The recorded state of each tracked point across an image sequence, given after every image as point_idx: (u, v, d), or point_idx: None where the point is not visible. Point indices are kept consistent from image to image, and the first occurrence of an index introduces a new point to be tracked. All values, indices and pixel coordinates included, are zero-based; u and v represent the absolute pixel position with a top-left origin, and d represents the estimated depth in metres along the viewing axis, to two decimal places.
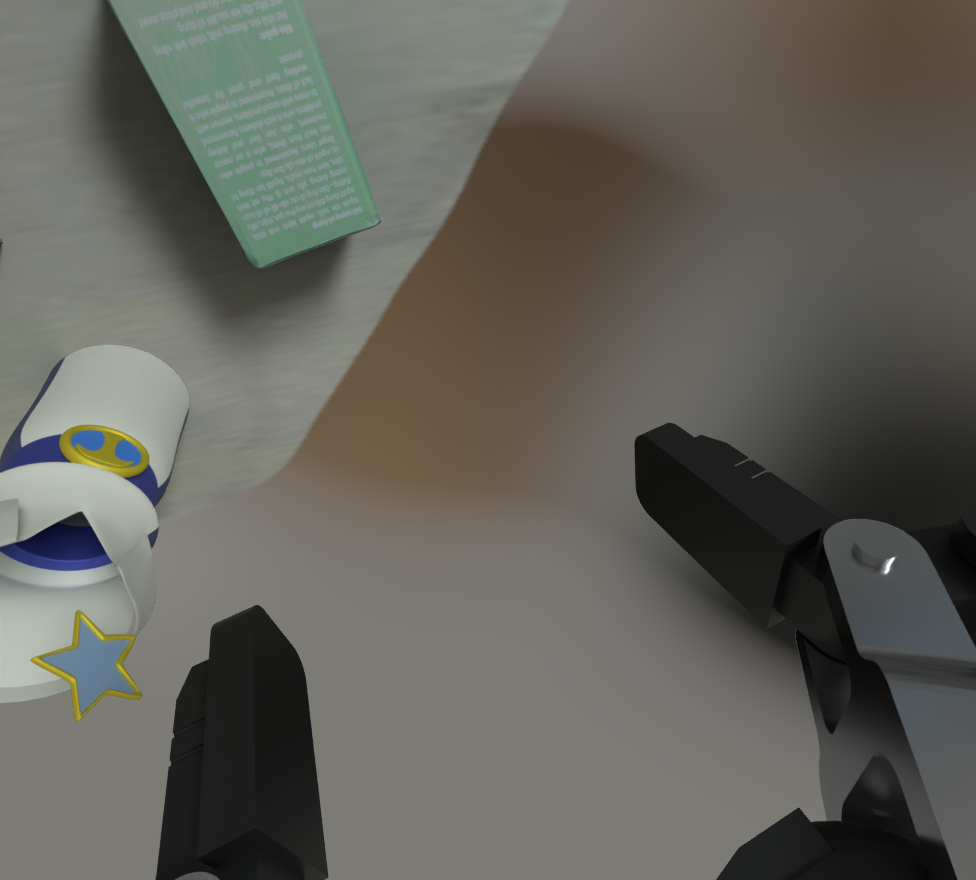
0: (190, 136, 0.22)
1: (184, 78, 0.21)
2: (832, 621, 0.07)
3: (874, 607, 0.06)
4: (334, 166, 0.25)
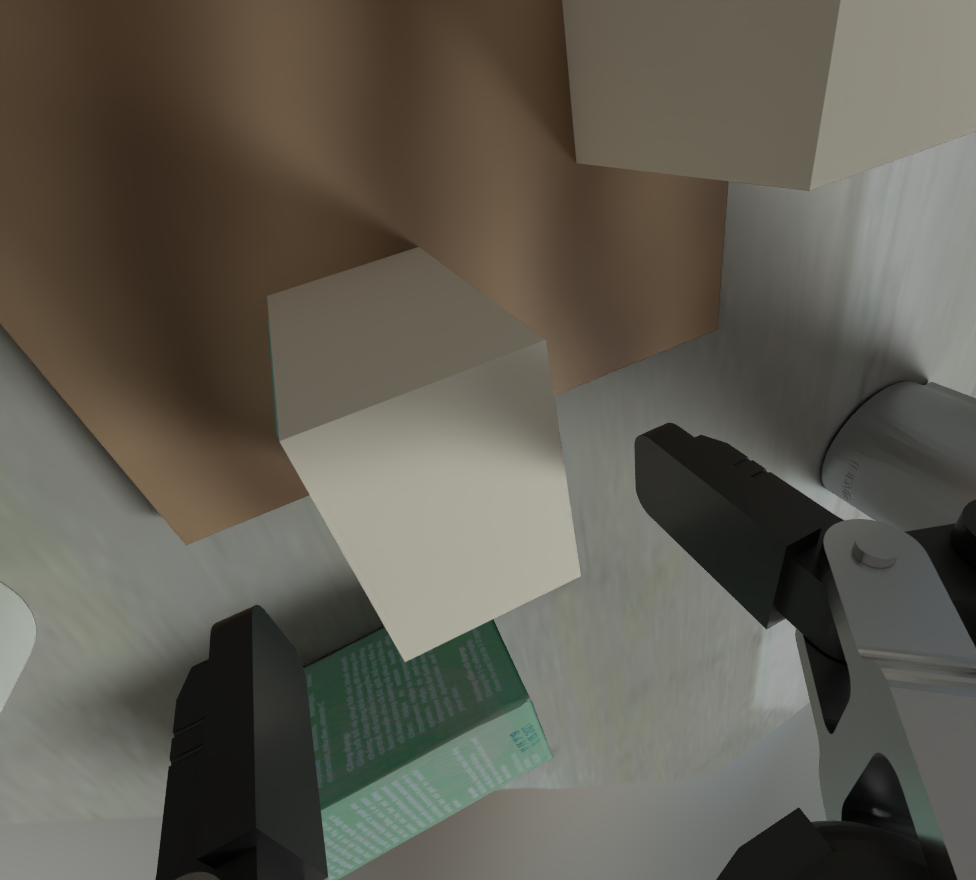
0: (388, 779, 0.21)
1: (436, 765, 0.22)
2: (832, 621, 0.07)
3: (874, 607, 0.06)
4: (372, 851, 0.24)
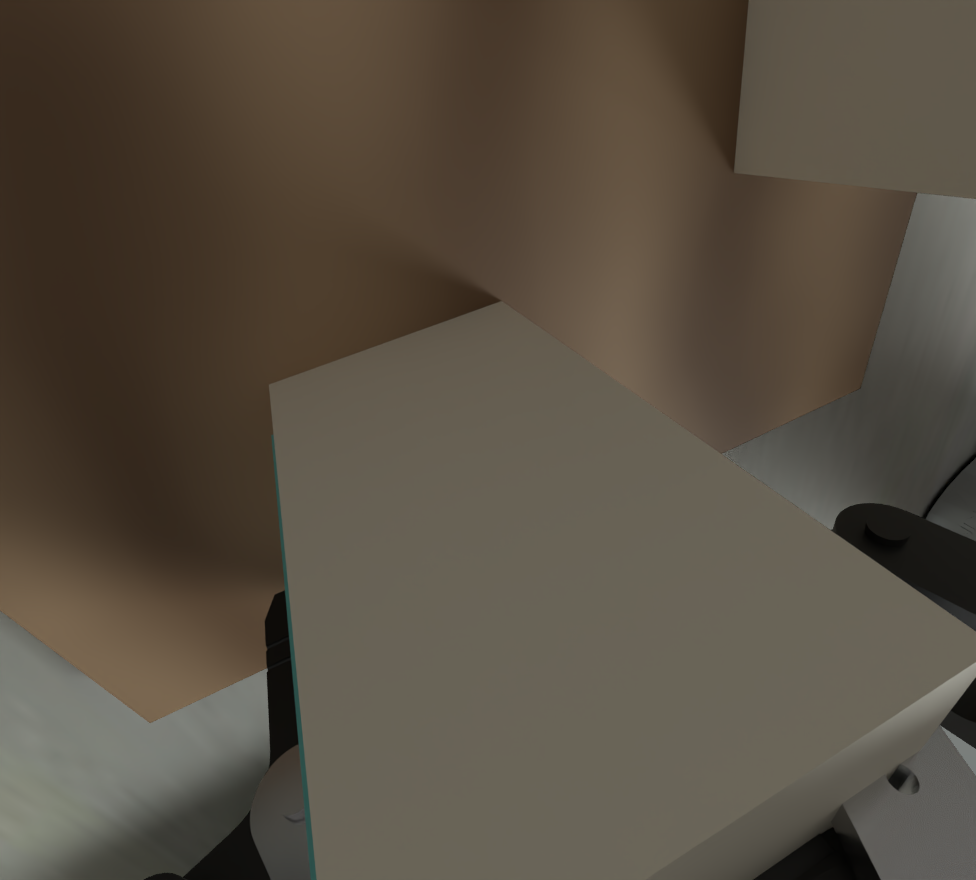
0: None
1: None
2: None
3: None
4: None
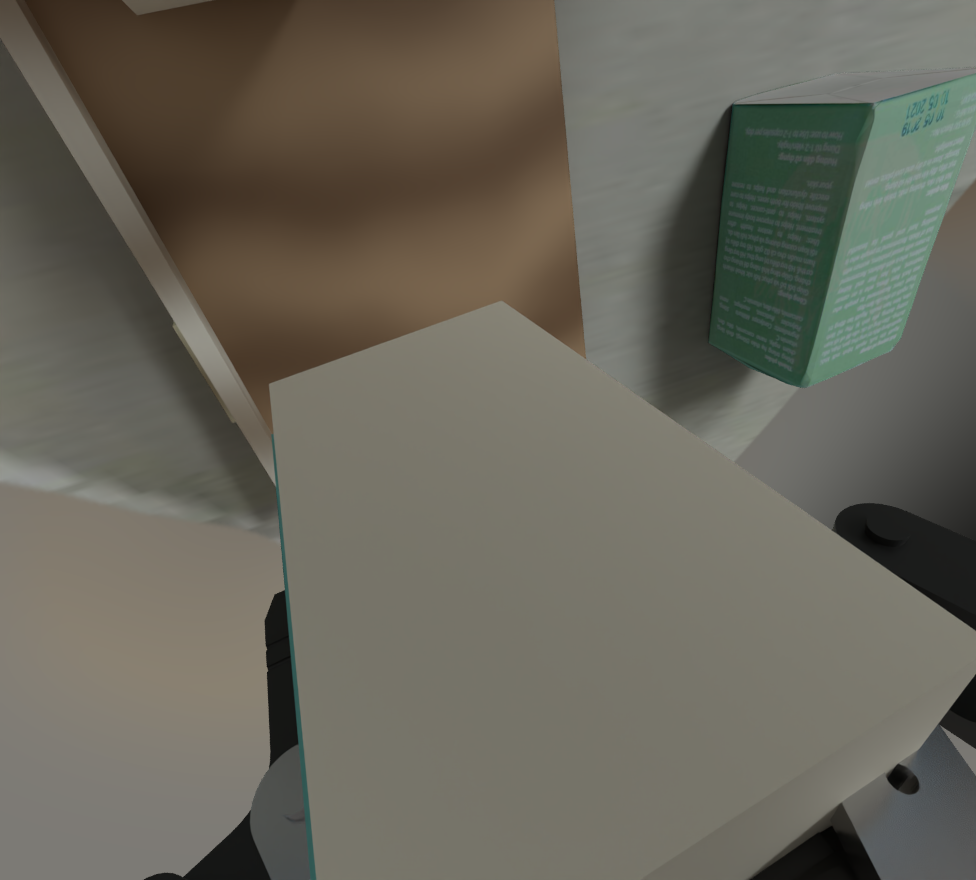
0: (836, 277, 0.23)
1: (863, 228, 0.22)
2: None
3: None
4: (902, 300, 0.26)
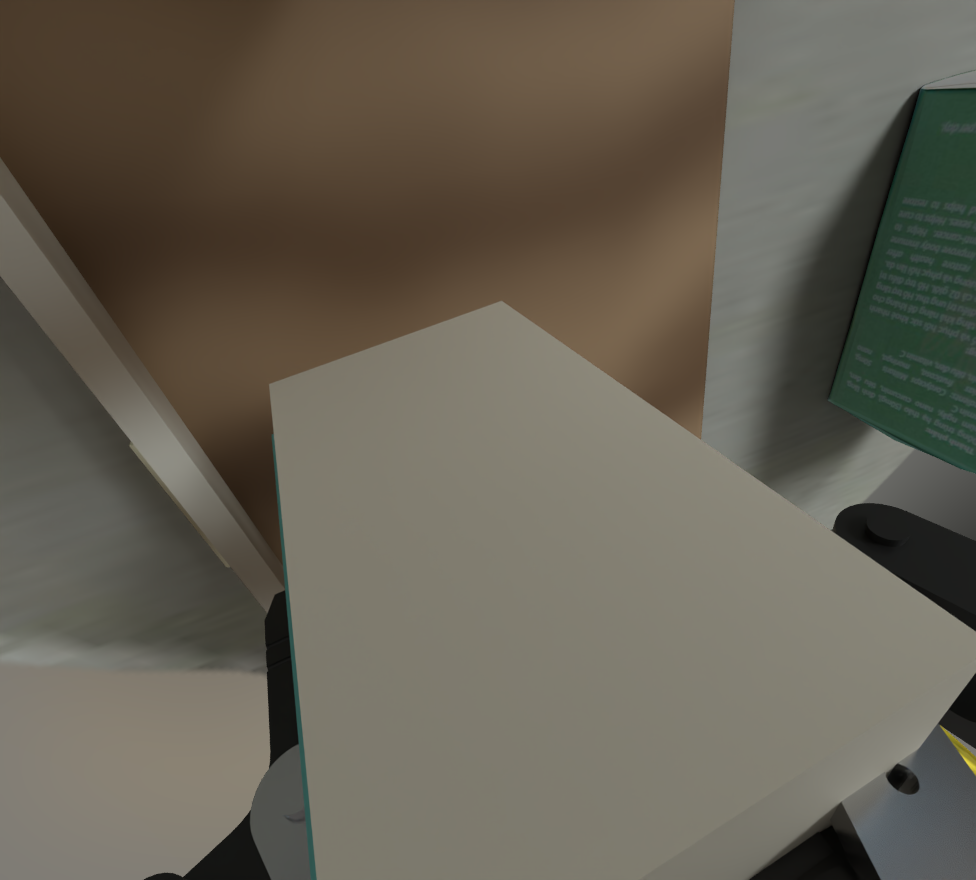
0: None
1: None
2: None
3: None
4: None
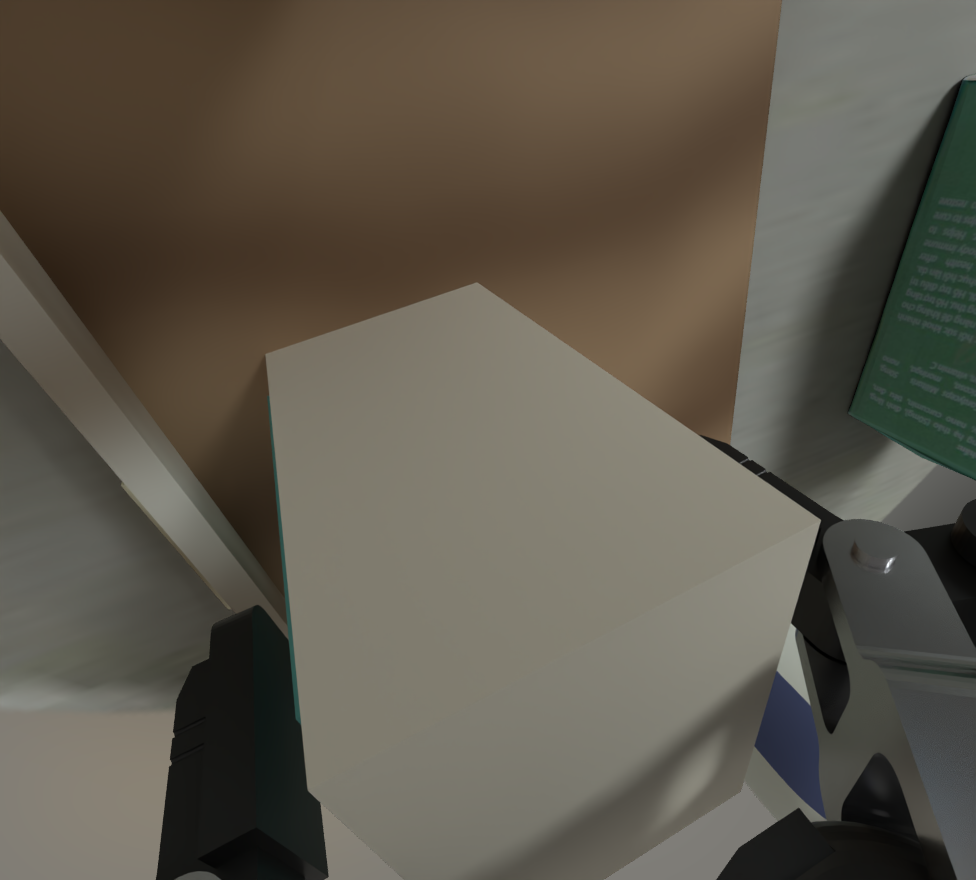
0: None
1: None
2: (832, 621, 0.07)
3: (874, 607, 0.06)
4: None
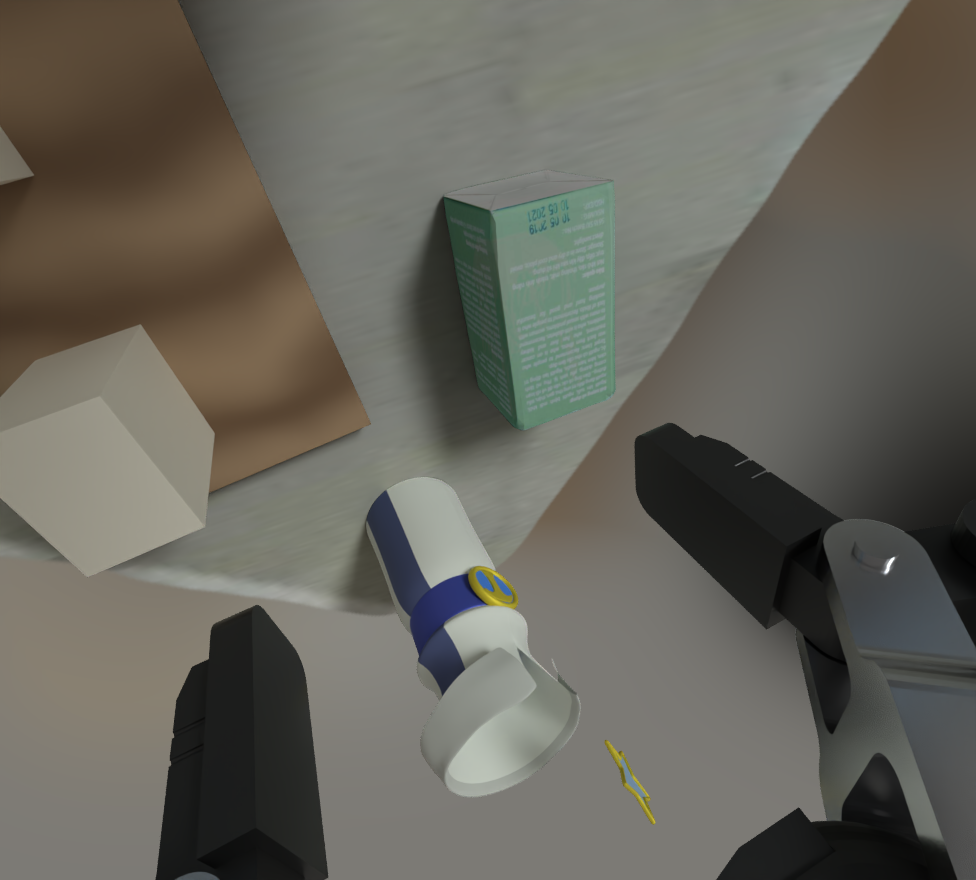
0: (513, 341, 0.28)
1: (524, 303, 0.27)
2: (832, 621, 0.07)
3: (874, 607, 0.06)
4: (598, 359, 0.31)
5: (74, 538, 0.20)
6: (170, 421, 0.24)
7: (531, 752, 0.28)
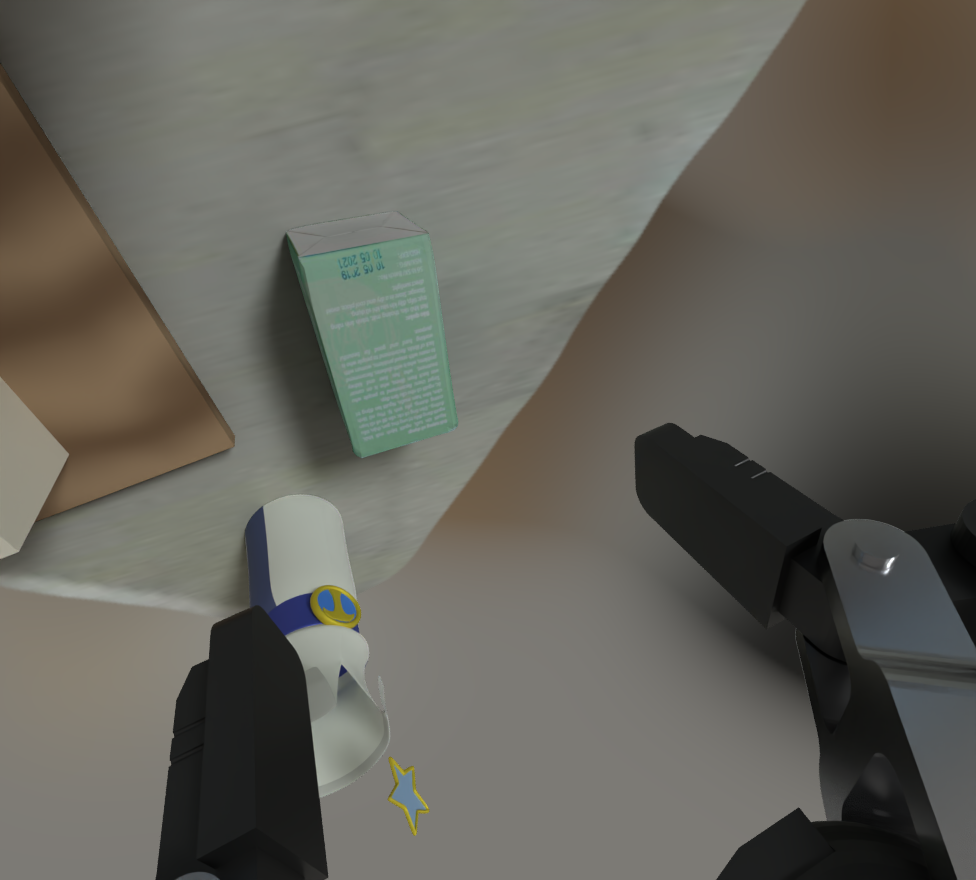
0: (338, 376, 0.29)
1: (346, 342, 0.28)
2: (832, 621, 0.07)
3: (874, 607, 0.06)
4: (434, 394, 0.32)
5: None
6: None
7: (352, 762, 0.30)
